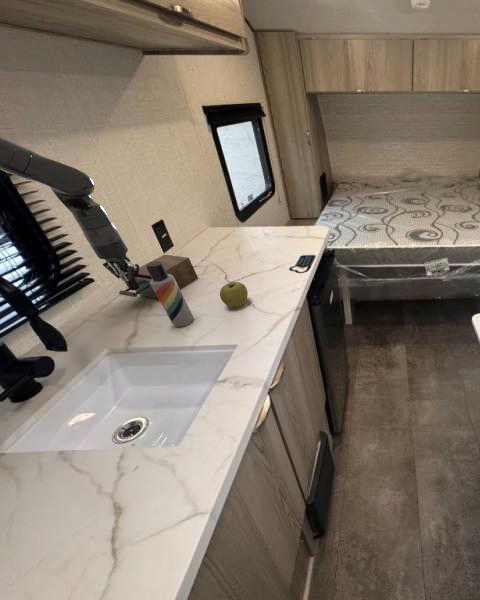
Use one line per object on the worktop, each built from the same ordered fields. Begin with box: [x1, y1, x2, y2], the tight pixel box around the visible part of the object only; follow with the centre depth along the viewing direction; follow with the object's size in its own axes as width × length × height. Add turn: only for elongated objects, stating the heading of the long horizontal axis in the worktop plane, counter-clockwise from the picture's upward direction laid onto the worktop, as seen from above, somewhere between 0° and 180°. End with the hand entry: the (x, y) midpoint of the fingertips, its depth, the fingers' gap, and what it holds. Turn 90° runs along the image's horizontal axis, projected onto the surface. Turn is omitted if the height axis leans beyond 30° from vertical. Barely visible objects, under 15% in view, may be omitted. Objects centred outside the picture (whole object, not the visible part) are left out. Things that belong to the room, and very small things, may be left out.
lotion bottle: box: [146, 261, 195, 328], centre depth 93 cm, size 6×6×20 cm
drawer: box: [118, 276, 158, 299], centre depth 111 cm, size 18×10×7 cm, turn 163°
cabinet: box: [138, 254, 199, 291], centre depth 115 cm, size 14×12×9 cm
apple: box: [219, 281, 249, 308], centre depth 103 cm, size 8×8×7 cm
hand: (135, 289), depth 105 cm, fingers closed
